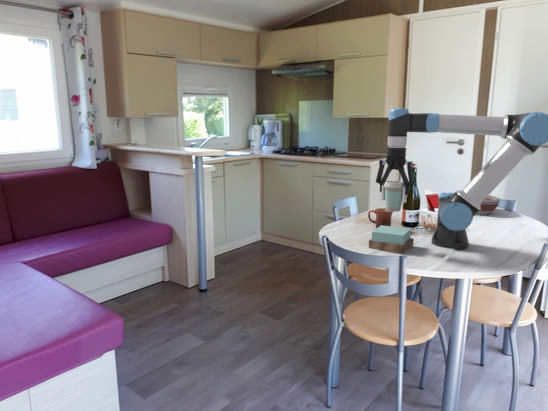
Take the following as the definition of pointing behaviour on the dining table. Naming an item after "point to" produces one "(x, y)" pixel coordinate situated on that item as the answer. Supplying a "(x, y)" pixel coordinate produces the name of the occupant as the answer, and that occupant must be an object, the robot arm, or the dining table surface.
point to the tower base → (391, 246)
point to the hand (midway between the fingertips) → (393, 201)
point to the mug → (381, 217)
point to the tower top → (391, 235)
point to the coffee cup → (393, 195)
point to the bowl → (489, 205)
